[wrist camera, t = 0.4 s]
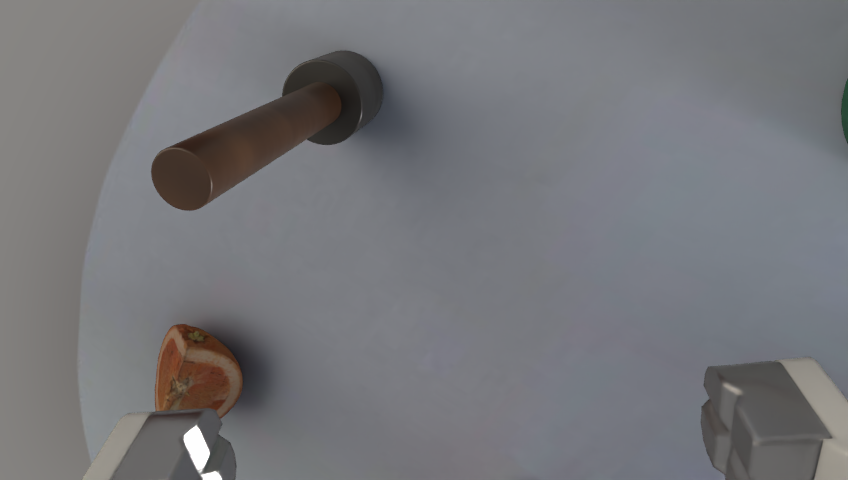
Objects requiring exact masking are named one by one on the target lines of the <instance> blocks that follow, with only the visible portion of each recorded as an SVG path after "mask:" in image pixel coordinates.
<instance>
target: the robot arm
mask: <svg viewBox="0 0 848 480" xmlns="http://www.w3.org/2000/svg"><path fill="white" fill-rule="evenodd" d="M704 387H705V389H706V392H707V394H708V396H709V398H710V399H709V400H708V401H707V402H706V403H705V404H704V405H703V406H702V409H701V428H702V435H703V441H704V444H705V447H706V451H707V454H708V456H709V458H710V461H711V463H712V465H713V467H714V468H716V469H717V470H719V471H720V472H721V473H723V474H724V475H726V478H725V480H848V400H847V399H846V398H845V396H844V395H843V394H842V393H841V391H840V390H839V389H838V388H837V386H836V385H835V384H834V382H833V381H832V380H831V379H830V377H829V376H828V375H827V374H826V372H825V371H824V370H823V368H822V367H821V366H820V365H819V363H818V362H817V361H816V360H814V359H812V358H811V357H803V358H793V359H782V360H775V361H765V362H754V363H743V364H732V365H721V366H710V367H708V368H707V370H706V372H705V378H704ZM221 426H222V422H221V420H220V418H219V416H218V414H217V411H216V410H214V409H210V408H201V409H184V410H166V411H155V412H143V413H128V414H127V415H125V416H124V417H122V418H121V419H120V420H119V421H118V423H117V425H116V426H115V428H114V429H113V431H112V433H111V434H110V436H109V437H108V439H107V440H106V442H105V444H104V445H103V447H102V448H101V450H100V452H99V453H98V455H97V456H96V458H95V459H94V461H93V463H92V464H91V466H90V468H89V469H88V470H87V472H86V474H85V475H84V477H83V478H82V480H235V477H236V459H235V453H234V451H233V448H232V446H231V443H230V442H229V441H227V440H226V439H225V438H223V437H222V436H220V435H219V434H218V433H219V431H220V429H221Z"/></svg>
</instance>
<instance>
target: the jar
mask: <svg viewBox="0 0 848 480" xmlns="http://www.w3.org/2000/svg"><path fill="white" fill-rule="evenodd" d="M841 115H842V126H843V131H844V135H845V138H846V141H847V143H848V79H847V82H846V85H845V89H844V93H843V98H842V109H841Z"/></svg>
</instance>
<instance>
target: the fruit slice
mask: <svg viewBox="0 0 848 480" xmlns="http://www.w3.org/2000/svg"><path fill="white" fill-rule="evenodd" d="M242 386H243V379H242V372H241V369H240V366H239V364H238V362H237V360H236V359H235V358H234V356H233V354H232V353H231V352H230V350H229V349H228V348H227V347H226V346H225V345H223V344H222V343H221V342H220V341H218V340H217V339H216V338H214V337H213V336H211V335H210V334H209V333H207V332H205V331H204V330H201V329H199V328H196V327H191V326H189V325H185V324H180V325H174V326H173V327H171V328H170V329H169V331H168V332H167V334H166V336H165V338H164V340H163V343H162V346H161V350H160V353H159V358H158V365H157V375H156V385H155V408H156V411H166V410H184V409H201V408H210V409H214V410H216V411H217V414H218V416H219V418H222V417H223V416H224V415H225V414H227V413H228V412H229V410H230V409H231V408H232V407H233V406H234V405H235V404H236V402H237V400H238V398H239V396H240V394H241V391H242Z"/></svg>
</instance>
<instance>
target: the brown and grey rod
mask: <svg viewBox="0 0 848 480" xmlns="http://www.w3.org/2000/svg"><path fill="white" fill-rule="evenodd" d="M382 98H383V88H382V83H381V79H380V77H379V74H378V72H377V71H376V69H375V68H374V66H373V65H372V64H371V63H370V62H369V61H368V60H367V59H366V58H364V57H363V56H361V55H359V54H357V53H354V52H351V51H335V52H332V53H329V54H326V55H323V56H320V57H317V58H315V59H312V60H309V61H306V62H304V63H302V64H300V65H298V66H297V67H296V68H295V69H293V70H292V72H291V73H290V74H289V76H288V77H287V79H286V81H285V84H284V87H283V93H282V97H281V98H278V99H276V100H274V101H272V102H269V103H267V104H265V105H263V106H260V107H258V108H256V109H254V110H251V111H249V112H247V113H244V114H242V115H240V116H238V117H235V118H233V119H231V120H229V121H226V122H224V123H222V124H220V125H217V126H215V127H213V128H211V129H208V130H206V131H204V132H202V133H199V134H197V135H195V136H193V137H190V138H188V139H186V140H184V141H181V142H179V143H177V144H175V145H172V146H170V147H168V148H166V149H164V150H162V151H160V152H159V153H158V154H157V156H156V157H155V159H154V161H153V164H152V169H151V174H152V180H153V183H154V186H155V188H156V190H157V192H158V193H159V195H160V196H161V197H162V198H163V199H164V200H165V201H166V202H167V203H169V204H170V205H172V206H173V207H175V208H178V209H181V210H189V211H190V210H197V209H199V208H201V207H203V206H204V205H206V204H208V203H209V202H211V201H212V200H214V199H215V198H217V197H218V196H220V195H221V194H223V193H225V192H226V191H228V190H229V189H231V188H232V187H234V186H235V185H237V184H238V183H240V182H242V181H243V180H245V179H246V178H248V177H249V176H251V175H252V174H254V173H255V172H257V171H258V170H260V169H262V168H263V167H265V166H266V165H268V164H269V163H271V162H272V161H274V160H275V159H277V158H279V157H280V156H282V155H283V154H285V153H286V152H288V151H289V150H291V149H292V148H294V147H296V146H297V145H299V144H300V143H302V142H303V141H305V140H306V139H307V140H309V141H311V142H313V143H317V144H322V145H332V144H337V143H340V142H342V141H344V140H346V139H347V138H349V137H350V136H351V135H353V134H354V133H355V132H357V131H358V130H359V129H360V128H362V127H363V126H364V125H366V124H367V123H368V122H370V121H371V120H372V119H373V118H374V117H375V116H376V114H377V113H378V111H379V109H380V106H381V103H382Z"/></svg>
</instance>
